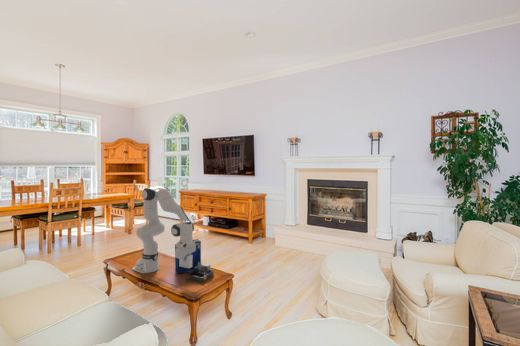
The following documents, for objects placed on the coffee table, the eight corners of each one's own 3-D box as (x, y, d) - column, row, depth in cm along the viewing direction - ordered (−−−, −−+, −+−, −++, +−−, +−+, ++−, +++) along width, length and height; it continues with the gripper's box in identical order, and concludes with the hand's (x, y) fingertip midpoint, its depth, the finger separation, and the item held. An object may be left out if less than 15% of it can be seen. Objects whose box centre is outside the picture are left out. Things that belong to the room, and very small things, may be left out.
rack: (187, 280, 205) (188, 268, 205) (200, 272, 220) (200, 261, 220) (202, 283, 200) (202, 271, 200) (213, 275, 215) (213, 264, 215)
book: (176, 275, 214) (176, 244, 213) (173, 272, 220) (174, 242, 219) (201, 269, 227) (201, 240, 226) (198, 266, 233) (198, 238, 232)
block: (179, 266, 198) (179, 254, 198) (182, 264, 202) (182, 253, 202) (189, 268, 195) (189, 256, 195) (192, 266, 199) (192, 254, 198)
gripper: (191, 238, 209) (190, 255, 209) (173, 245, 190) (173, 264, 190) (198, 239, 206) (197, 256, 207) (181, 246, 187) (180, 265, 188)
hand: (185, 260), depth 198 cm, fingers closed on block, 4 cm apart
